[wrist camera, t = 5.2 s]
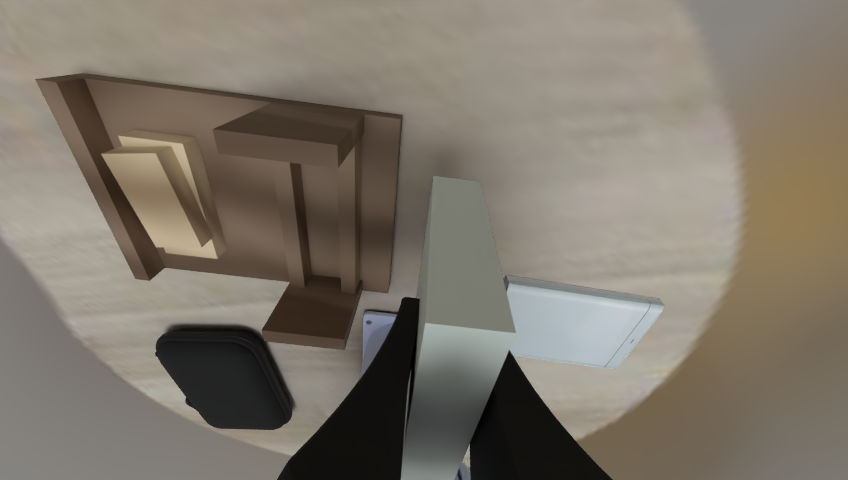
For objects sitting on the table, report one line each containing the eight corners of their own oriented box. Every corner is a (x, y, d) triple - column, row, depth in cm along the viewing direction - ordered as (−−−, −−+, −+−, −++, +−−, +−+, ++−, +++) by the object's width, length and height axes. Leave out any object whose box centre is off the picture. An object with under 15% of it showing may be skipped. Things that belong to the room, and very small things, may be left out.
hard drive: (480, 353, 28) (615, 372, 29) (508, 284, 24) (668, 308, 24) (478, 338, 30) (607, 356, 30) (505, 270, 25) (655, 293, 26)
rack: (389, 284, 26) (376, 353, 20) (160, 258, 25) (84, 321, 20) (402, 115, 18) (386, 151, 13) (82, 73, 18) (-73, 93, 13)
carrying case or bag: (149, 320, 30) (212, 407, 38) (122, 347, 27) (196, 434, 35) (261, 321, 29) (300, 409, 37) (245, 348, 27) (290, 436, 35)
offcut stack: (229, 249, 23) (209, 270, 21) (175, 242, 23) (150, 263, 21) (199, 137, 19) (170, 151, 17) (132, 129, 19) (95, 141, 17)
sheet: (447, 323, 19) (450, 488, 12) (413, 319, 19) (397, 483, 12) (480, 181, 14) (516, 333, 7) (433, 175, 14) (425, 322, 7)
